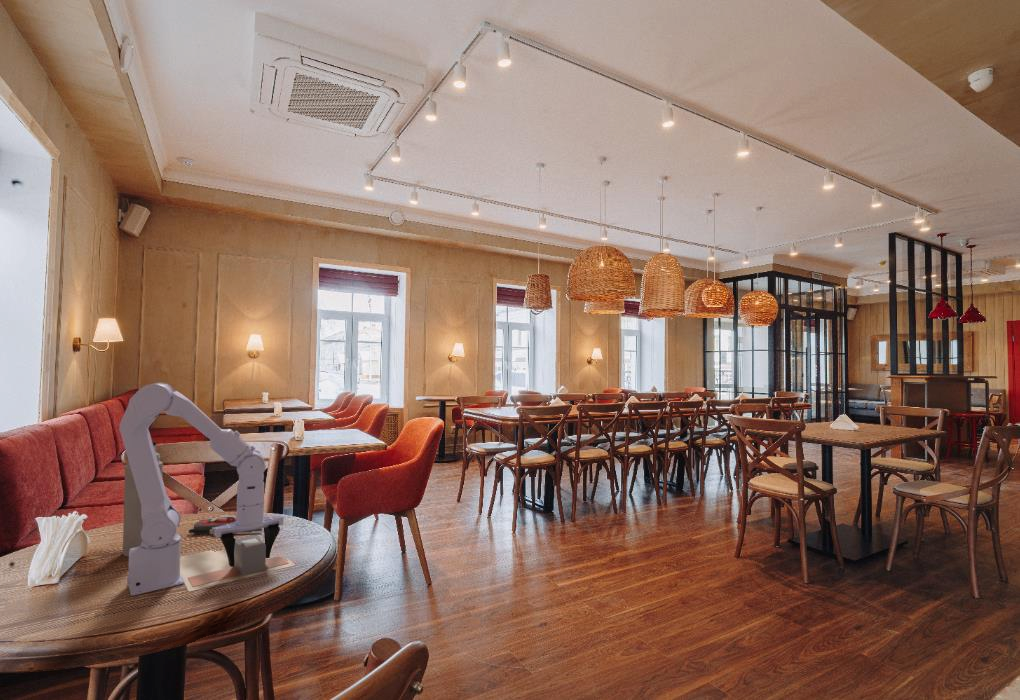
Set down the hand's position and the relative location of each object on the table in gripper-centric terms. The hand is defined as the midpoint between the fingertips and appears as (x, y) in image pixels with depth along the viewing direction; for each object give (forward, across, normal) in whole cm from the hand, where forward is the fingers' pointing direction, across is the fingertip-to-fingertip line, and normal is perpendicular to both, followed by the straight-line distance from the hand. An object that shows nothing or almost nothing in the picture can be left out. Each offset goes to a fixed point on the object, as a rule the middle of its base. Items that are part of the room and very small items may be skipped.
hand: (249, 561), depth 120 cm
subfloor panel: (+2, +2, -7) cm, 7 cm away
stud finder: (+2, 0, 0) cm, 2 cm away
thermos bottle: (+2, +18, -30) cm, 35 cm away
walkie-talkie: (+2, -3, -33) cm, 33 cm away
